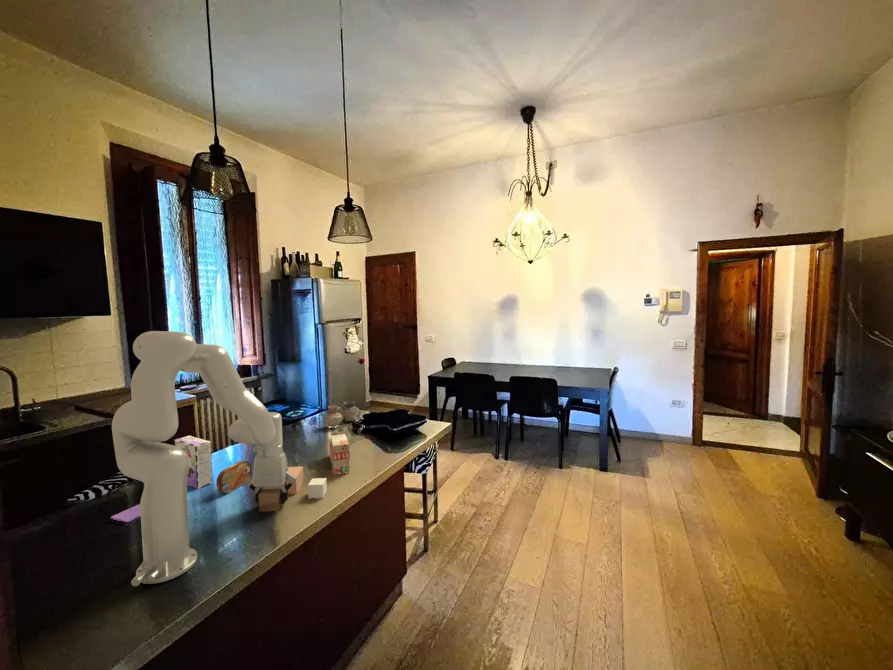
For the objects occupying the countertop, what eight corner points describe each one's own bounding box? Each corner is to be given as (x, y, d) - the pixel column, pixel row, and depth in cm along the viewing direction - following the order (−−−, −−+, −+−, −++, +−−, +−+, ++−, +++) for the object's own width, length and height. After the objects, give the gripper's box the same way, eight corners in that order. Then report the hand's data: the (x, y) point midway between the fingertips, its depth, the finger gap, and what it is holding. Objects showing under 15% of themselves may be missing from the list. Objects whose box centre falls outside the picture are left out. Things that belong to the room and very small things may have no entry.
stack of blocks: (329, 456, 171) (328, 429, 170) (343, 454, 173) (342, 427, 173) (333, 475, 151) (332, 445, 150) (349, 473, 154) (349, 443, 153)
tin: (222, 497, 134) (221, 474, 133) (215, 496, 134) (213, 473, 134) (252, 478, 149) (251, 457, 148) (245, 478, 149) (244, 456, 149)
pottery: (319, 429, 209) (318, 407, 208) (347, 417, 232) (347, 397, 231) (336, 431, 205) (335, 409, 204) (363, 419, 228) (362, 399, 227)
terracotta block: (296, 494, 136) (296, 478, 136) (267, 496, 135) (266, 479, 135) (303, 481, 146) (302, 466, 146) (275, 483, 145) (275, 467, 145)
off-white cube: (323, 498, 133) (322, 484, 133) (308, 498, 133) (308, 484, 133) (326, 491, 138) (326, 478, 138) (312, 491, 138) (312, 478, 138)
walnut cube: (278, 511, 125) (277, 493, 125) (259, 511, 125) (258, 493, 124) (284, 501, 131) (284, 484, 131) (266, 502, 131) (265, 485, 130)
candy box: (175, 481, 146) (173, 439, 145) (192, 475, 151) (190, 434, 150) (197, 489, 140) (195, 445, 138) (213, 483, 145) (211, 440, 144)
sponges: (167, 506, 129) (167, 500, 129) (126, 526, 117) (125, 520, 117) (152, 502, 131) (152, 497, 131) (110, 522, 119) (110, 516, 119)
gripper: (237, 455, 122) (239, 509, 123) (293, 454, 123) (295, 507, 125) (248, 447, 130) (250, 498, 131) (300, 445, 131) (302, 496, 132)
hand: (272, 502), depth 128 cm, fingers open, 7 cm apart
